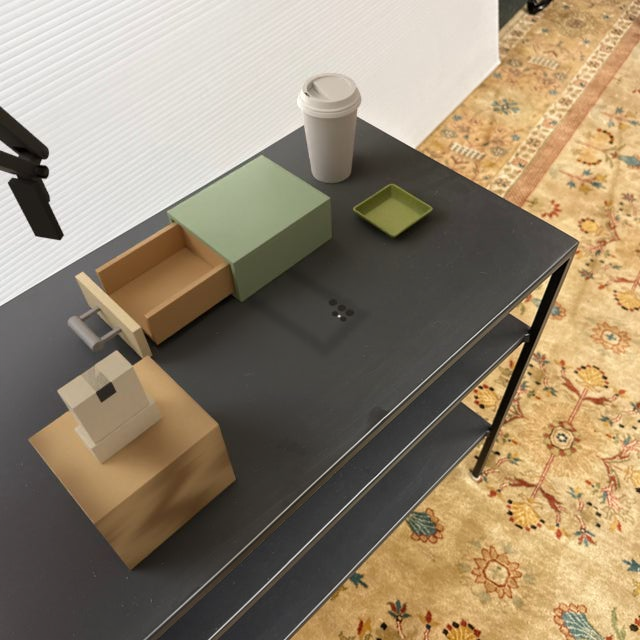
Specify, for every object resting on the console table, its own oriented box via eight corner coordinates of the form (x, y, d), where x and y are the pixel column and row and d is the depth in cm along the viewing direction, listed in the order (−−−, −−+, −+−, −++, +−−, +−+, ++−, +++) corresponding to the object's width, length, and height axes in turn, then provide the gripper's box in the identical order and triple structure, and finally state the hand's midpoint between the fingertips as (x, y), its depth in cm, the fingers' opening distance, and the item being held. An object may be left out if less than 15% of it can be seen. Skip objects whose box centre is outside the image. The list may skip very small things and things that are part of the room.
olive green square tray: (351, 218, 98) (351, 208, 97) (391, 192, 102) (391, 182, 100) (393, 247, 94) (393, 236, 92) (433, 218, 97) (434, 208, 96)
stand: (130, 570, 66) (93, 524, 56) (69, 492, 71) (27, 439, 62) (236, 479, 72) (219, 424, 62) (172, 414, 77) (147, 354, 68)
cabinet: (241, 302, 88) (233, 263, 82) (177, 251, 95) (166, 211, 89) (332, 237, 96) (330, 197, 90) (267, 194, 103) (261, 154, 97)
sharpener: (101, 464, 60) (68, 414, 53) (84, 444, 61) (50, 392, 54) (162, 418, 63) (139, 364, 56) (145, 399, 64) (120, 345, 57)
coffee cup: (299, 156, 109) (293, 73, 97) (356, 150, 109) (356, 67, 97) (305, 192, 103) (299, 108, 91) (364, 186, 103) (366, 101, 91)
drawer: (116, 381, 80) (101, 353, 75) (60, 323, 86) (44, 294, 81) (244, 290, 88) (239, 260, 84) (186, 244, 95) (177, 213, 90)
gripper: (-225, 197, 33) (-34, 411, 50) (29, -15, 48) (111, 203, 65) (-336, 179, 35) (-115, 392, 51) (-57, -22, 50) (45, 193, 66)
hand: (11, 287), depth 58 cm, fingers open, 13 cm apart
